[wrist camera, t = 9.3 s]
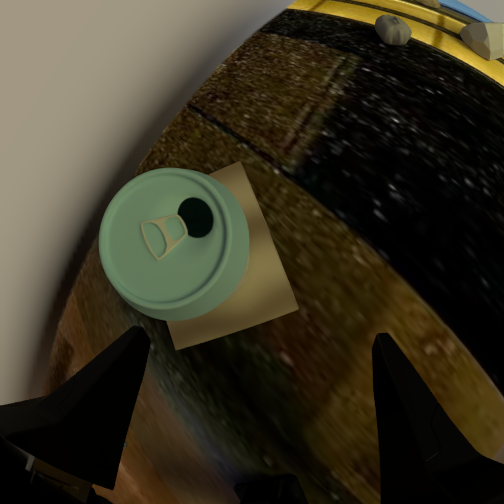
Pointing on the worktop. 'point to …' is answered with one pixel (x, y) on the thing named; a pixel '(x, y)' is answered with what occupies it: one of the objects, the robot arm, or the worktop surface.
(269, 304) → the beige wooden slab
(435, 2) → the hand bell
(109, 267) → the can
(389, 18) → the grey pumpkin
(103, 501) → the black bottle
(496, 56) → the crystal
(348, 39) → the worktop surface
